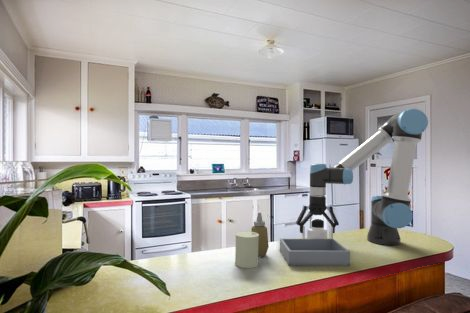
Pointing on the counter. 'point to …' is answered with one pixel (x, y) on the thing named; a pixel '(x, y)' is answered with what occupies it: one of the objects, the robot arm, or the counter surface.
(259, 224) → the squeeze bottle
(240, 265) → the can
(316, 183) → the robot arm
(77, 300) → the counter surface
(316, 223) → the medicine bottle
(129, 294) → the counter surface
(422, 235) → the counter surface
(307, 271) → the counter surface
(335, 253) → the grey box
